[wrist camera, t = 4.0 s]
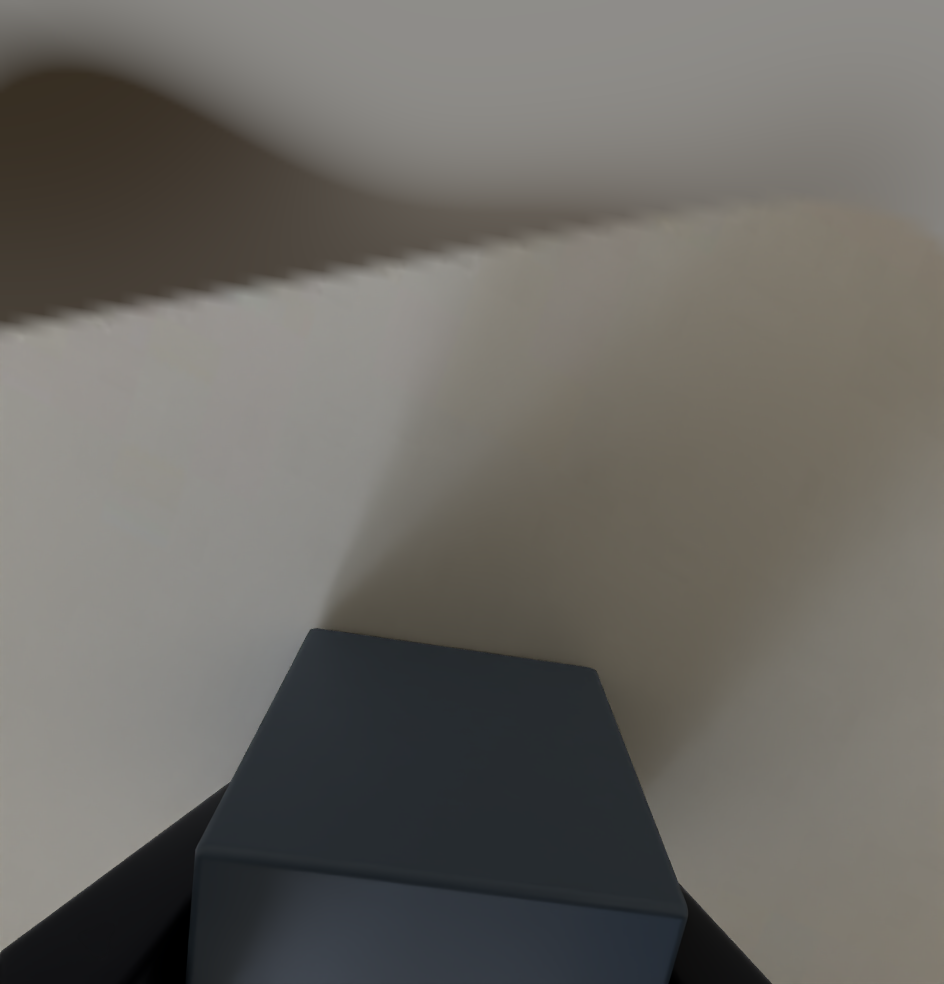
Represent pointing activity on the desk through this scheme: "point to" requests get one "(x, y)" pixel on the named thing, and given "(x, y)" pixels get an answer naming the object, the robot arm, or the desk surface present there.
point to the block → (433, 830)
